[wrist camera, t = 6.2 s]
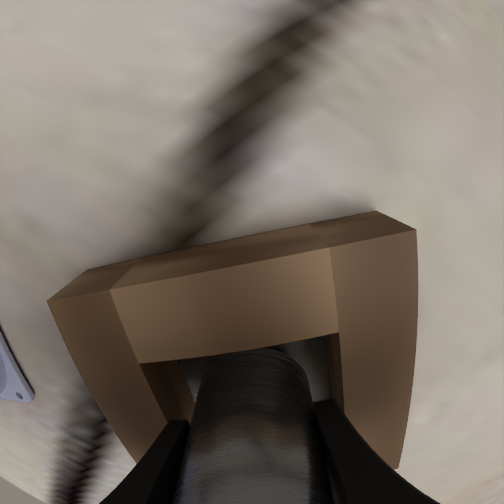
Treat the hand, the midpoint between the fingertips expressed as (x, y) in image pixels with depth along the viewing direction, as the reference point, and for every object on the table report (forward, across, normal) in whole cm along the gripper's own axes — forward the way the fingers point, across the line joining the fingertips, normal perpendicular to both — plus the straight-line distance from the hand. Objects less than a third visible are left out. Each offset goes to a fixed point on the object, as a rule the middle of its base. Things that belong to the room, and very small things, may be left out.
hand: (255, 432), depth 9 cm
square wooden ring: (+3, 0, 0) cm, 3 cm away
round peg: (+2, 0, 0) cm, 2 cm away
